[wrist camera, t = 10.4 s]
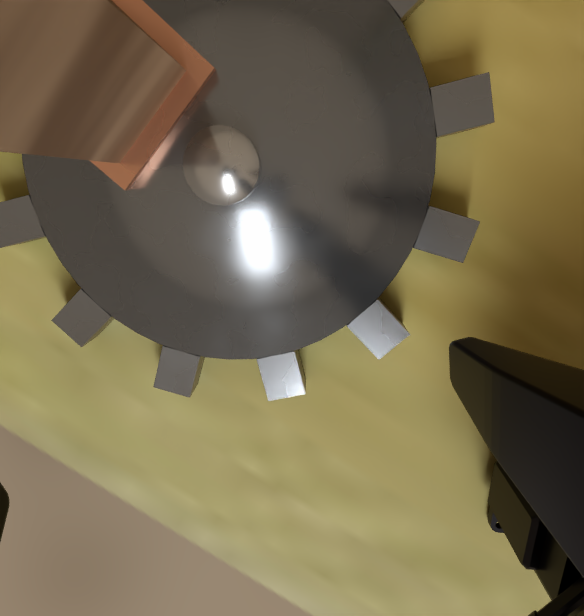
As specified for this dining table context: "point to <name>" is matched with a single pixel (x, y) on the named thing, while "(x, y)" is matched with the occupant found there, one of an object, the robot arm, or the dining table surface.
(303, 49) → the sprocket plate
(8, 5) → the link block
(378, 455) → the dining table surface
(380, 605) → the dining table surface
